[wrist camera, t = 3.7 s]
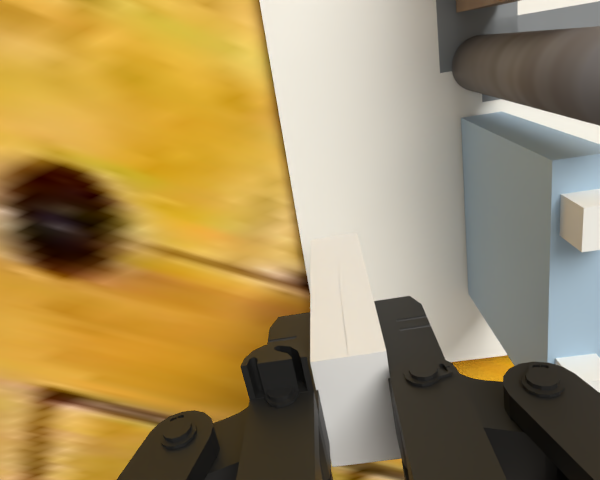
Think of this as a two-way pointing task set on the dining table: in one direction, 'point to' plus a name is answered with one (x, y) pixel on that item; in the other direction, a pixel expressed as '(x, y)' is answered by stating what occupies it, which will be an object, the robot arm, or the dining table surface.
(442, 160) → the card
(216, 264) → the dining table surface
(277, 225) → the dining table surface
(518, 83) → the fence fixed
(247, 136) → the dining table surface
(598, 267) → the fence panel
